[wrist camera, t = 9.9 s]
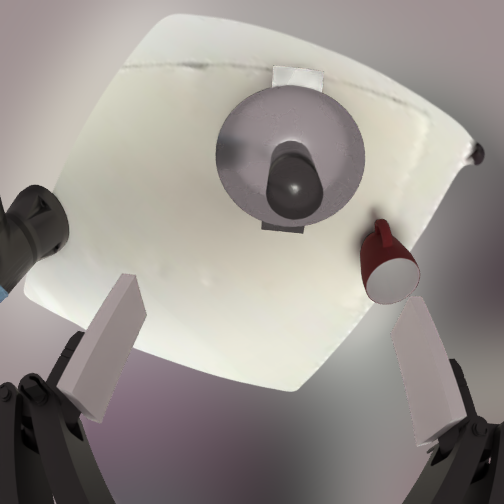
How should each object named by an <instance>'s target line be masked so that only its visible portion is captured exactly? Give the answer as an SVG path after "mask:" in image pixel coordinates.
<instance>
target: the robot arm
mask: <svg viewBox="0 0 504 504" xmlns="http://www.w3.org/2000/svg"><path fill="white" fill-rule="evenodd" d="M68 235H69V228H68V222H67V218H66V215H65V212H64V210H63V208H62V206H61V204H60V203H59V201H58V200H57V198H56V197H55V196H54V195H53V194H52V193H51V192H50V191H49V190H48V189H46V188H44V187H42V186H39V185H31V186H29V187H27V188H26V189H24V190H23V191H21V192H20V193H19V195H18V196H17V197H16V199H15V200H14V202H13V203H12V204H11V206H10V208H9V209H8V210H7V212H6V213H5V212H4V209H3V205H2V201H1V197H0V303H1V302H2V301H3V300H4V299H5V298H6V297H8V294H9V293H10V292H11V291H12V289H13V288H14V287H15V286H16V285H17V283H18V282H19V281H20V280H21V279H22V277H23V276H24V275H25V274H26V273H27V272H28V271H29V270H30V269H31V267H32V266H33V265H34V264H35V263H36V262H38V261H40V260H42V259H44V258H47V257H49V256H51V255H53V254H55V253H57V252H58V251H59V250H60V249H61V248H62V247H63V246H64V245H65V244H66V242H67V239H68ZM146 316H147V314H146V310H145V307H144V304H143V300H142V297H141V293H140V290H139V286H138V282H137V279H136V275H130V274H122V275H121V276H120V278H119V279H118V281H117V282H116V284H115V285H114V287H113V288H112V290H111V291H110V293H109V294H108V296H107V298H106V299H105V301H104V302H103V304H102V306H101V307H100V309H99V310H98V312H97V314H96V315H95V317H94V319H93V320H92V322H91V324H90V325H89V327H88V329H87V331H86V332H81V331H78V332H77V333H75V334H74V335H73V336H72V337H71V338H70V339H69V341H68V343H67V344H66V346H65V349H64V350H63V351H62V353H61V356H60V357H59V358H58V360H57V362H56V364H55V366H54V368H53V369H52V372H51V373H50V375H49V377H48V379H47V381H46V382H45V381H44V380H43V379H42V378H41V377H40V376H39V375H38V374H35V373H30V374H27V375H26V376H24V377H23V378H22V379H21V380H20V383H19V386H18V389H17V388H16V387H15V386H14V385H13V384H12V383H10V382H6V383H3V384H2V385H0V504H54V500H53V496H54V499H55V501H56V504H116V503H115V501H114V500H113V498H112V496H111V494H110V492H109V490H108V488H107V485H106V484H105V481H104V479H103V477H102V475H101V472H100V470H99V468H98V466H97V463H96V461H95V458H94V456H93V453H92V450H91V448H90V445H89V442H88V440H87V437H86V434H85V431H84V428H83V425H82V422H81V420H80V418H79V416H80V414H81V413H82V414H83V415H84V416H85V417H86V418H88V419H90V420H93V421H96V422H98V423H102V420H103V417H104V415H105V412H106V409H107V407H108V404H109V402H110V399H111V397H112V394H113V391H114V389H115V387H116V384H117V382H118V379H119V377H120V375H121V372H122V370H123V368H124V365H125V363H126V361H127V358H128V356H129V354H130V351H131V349H132V347H133V345H134V342H135V340H136V338H137V336H138V334H139V331H140V329H141V327H142V325H143V323H144V321H145V318H146ZM391 338H392V341H393V345H394V348H395V352H396V355H397V359H398V362H399V366H400V370H401V374H402V378H403V382H404V386H405V391H406V395H407V399H408V404H409V409H410V413H411V418H412V423H413V429H414V434H415V440H416V446H421V445H425V444H429V443H432V442H433V441H434V440H436V439H437V438H438V441H439V443H438V444H436V445H435V446H433V447H432V448H430V449H429V450H428V451H427V453H430V452H431V451H433V453H432V454H431V456H430V458H429V461H428V462H427V464H426V466H425V467H424V469H423V471H422V473H421V474H420V476H419V478H418V480H417V481H416V483H415V485H414V486H413V488H412V489H411V491H410V493H409V494H408V496H407V497H406V499H405V500H404V502H403V503H402V504H504V422H502V423H501V424H489V423H487V421H486V420H485V419H484V418H482V417H480V416H477V413H476V411H475V407H474V404H473V401H472V398H471V395H470V392H469V388H468V386H467V383H466V380H465V379H464V374H463V372H462V369H461V367H460V365H459V364H458V363H457V361H456V360H455V359H448V357H447V354H446V352H445V349H444V346H443V344H442V342H441V339H440V336H439V334H438V332H437V329H436V327H435V325H434V322H433V320H432V318H431V315H430V313H429V311H428V309H427V307H426V305H425V302H424V300H423V298H422V297H415V296H409V298H408V300H407V302H406V304H405V307H404V308H403V310H402V312H401V314H400V316H399V318H398V320H397V322H396V324H395V326H394V328H393V330H392V332H391ZM489 458H491V461H490V464H489Z"/></svg>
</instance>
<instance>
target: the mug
mask: <svg viewBox="0 0 504 504" xmlns="http://www.w3.org/2000/svg"><path fill="white" fill-rule="evenodd" d="M360 261H361V275H362V281H363V284H364V287H365V290H366V293H367V295H368V297H369V298H370V299H371V300H372V301H374V302H376V303H379V304H393V303H396V302H399V301H401V300H403V299H405V298H406V297H408V296H409V295H410V294H411V293H412V292H413V291H414V290H415V288H416V287H417V285H418V283H419V279H420V270H419V267H418V265H417V263H416V261H415V259H414V258H413V256H412V255H411V253H410V252H409V251H408V250H407V249H406V248H405V247H404V246H403V245H402V244H401V243H400V242H399V241H398V240H397V239H396V238H395V237H393V236H392V234H391V230H390V227H389V225H388V223H387V221H386V220H384V219H378V220H376V222H375V232H373V233H371V234H370V235H368V236H367V237H366V239H365V241H364V243H363V245H362V247H361V251H360Z"/></svg>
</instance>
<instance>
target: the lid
mask: <svg viewBox="0 0 504 504" xmlns="http://www.w3.org/2000/svg"><path fill="white" fill-rule="evenodd" d="M216 165H217V170H218V174H219V177H220V180H221V182H222V184H223V186H224V188H225V190H226V192H227V193H228V195H229V196H230V197H231V199H232V200H233V201H234V202H235V203H236V204H237V205H238V206H239V207H240V208H241V209H242V210H244V211H245V212H247V213H248V214H249V215H251V216H253V217H255V218H257V219H259V220H261V221H264V222H266V223H270V224H273V225H278V226H287V227H296V226H305V225H310V224H314V223H317V222H320V221H322V220H324V219H327V218H328V217H330V216H332V215H333V214H335V213H336V212H338V211H339V210H340V209H342V208H343V207H344V206H345V205H346V204H347V203H348V201H349V200H350V199H351V198H352V196H353V195H354V193H355V192H356V190H357V188H358V186H359V184H360V181H361V179H362V175H363V172H364V165H365V149H364V143H363V139H362V136H361V133H360V131H359V129H358V126H357V124H356V123H355V121H354V120H353V118H352V116H351V115H350V114H349V113H348V112H347V111H346V109H345V108H344V107H343V106H341V105H340V104H339V103H338V102H337V101H335V100H334V99H332V98H331V97H329V96H328V95H326V94H324V93H322V92H320V91H317V90H314V89H311V88H307V87H302V86H290V85H286V86H276V87H272V88H268V89H265V90H262V91H259V92H257V93H255V94H253V95H251V96H249V97H248V98H246V99H245V100H244V101H242V102H241V103H240V104H239V105H238V106H237V107H236V108H235V109H234V110H233V111H232V112H231V113H230V115H229V116H228V117H227V119H226V120H225V122H224V124H223V126H222V128H221V130H220V133H219V136H218V140H217V145H216Z"/></svg>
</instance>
